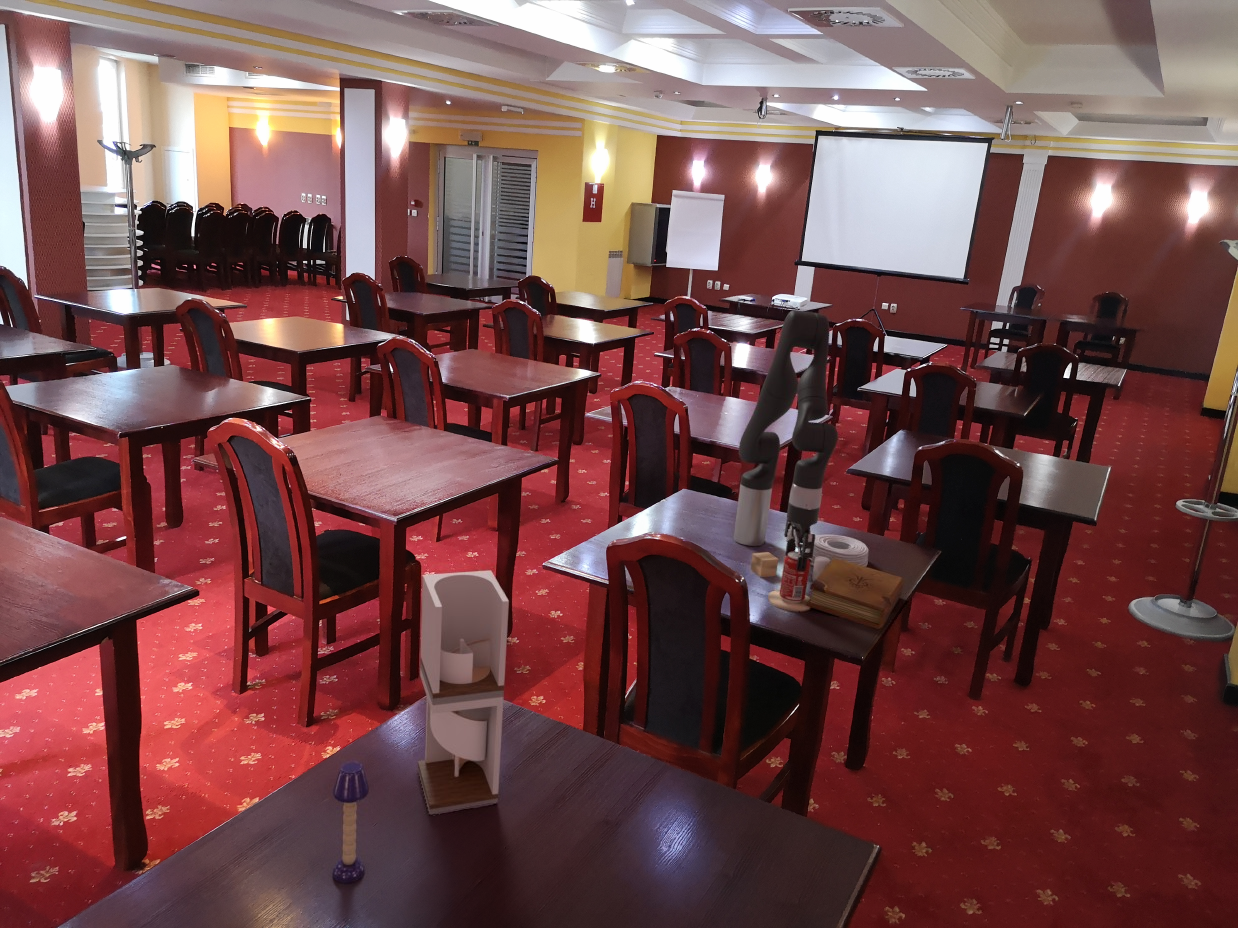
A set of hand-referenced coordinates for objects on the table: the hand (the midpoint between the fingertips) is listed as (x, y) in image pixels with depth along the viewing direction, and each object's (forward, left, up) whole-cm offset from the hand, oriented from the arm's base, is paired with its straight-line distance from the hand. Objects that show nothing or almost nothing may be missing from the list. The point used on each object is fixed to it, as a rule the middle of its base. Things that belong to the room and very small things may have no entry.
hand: (795, 563), depth 222 cm
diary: (0, +17, -10) cm, 20 cm away
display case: (+72, -80, -11) cm, 109 cm away
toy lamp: (+90, -94, -11) cm, 131 cm away
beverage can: (+1, 0, -10) cm, 10 cm away
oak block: (-18, -1, -10) cm, 21 cm away
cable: (-28, +23, -11) cm, 38 cm away
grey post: (-14, +13, -10) cm, 22 cm away
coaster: (0, 0, -10) cm, 10 cm away
